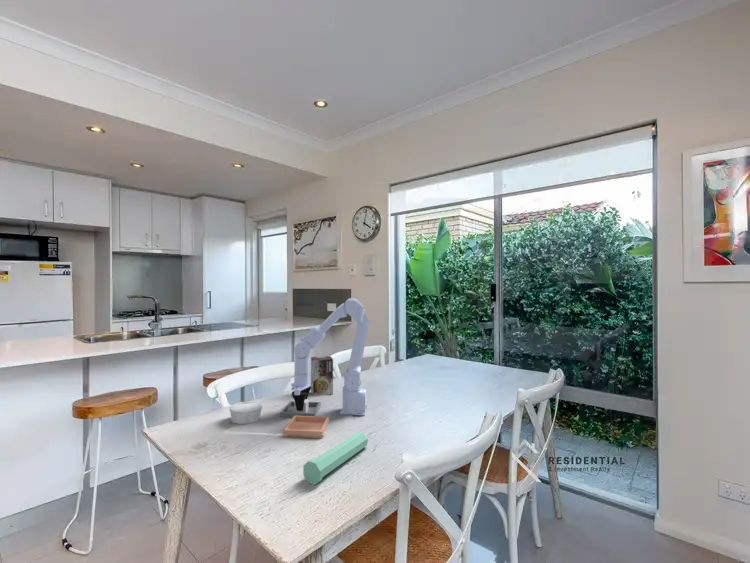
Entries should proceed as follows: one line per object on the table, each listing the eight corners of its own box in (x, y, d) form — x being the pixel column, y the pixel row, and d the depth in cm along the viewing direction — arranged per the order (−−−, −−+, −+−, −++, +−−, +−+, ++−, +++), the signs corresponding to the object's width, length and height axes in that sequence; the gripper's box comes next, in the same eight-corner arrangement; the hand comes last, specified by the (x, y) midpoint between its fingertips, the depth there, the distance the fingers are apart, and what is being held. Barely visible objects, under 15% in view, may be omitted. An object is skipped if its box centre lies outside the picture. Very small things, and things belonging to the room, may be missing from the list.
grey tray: (320, 407, 145) (321, 402, 145) (314, 419, 133) (314, 413, 133) (289, 406, 146) (290, 400, 146) (280, 418, 133) (280, 412, 133)
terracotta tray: (329, 422, 130) (329, 416, 130) (322, 438, 117) (322, 431, 117) (294, 421, 131) (294, 415, 131) (283, 436, 118) (283, 430, 118)
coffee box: (330, 390, 168) (330, 355, 168) (333, 394, 162) (333, 358, 161) (310, 392, 165) (310, 356, 165) (312, 396, 159) (313, 359, 159)
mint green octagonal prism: (359, 424, 114) (307, 456, 93) (374, 435, 112) (323, 471, 90) (353, 440, 115) (299, 475, 94) (367, 451, 113) (316, 490, 91)
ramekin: (253, 412, 139) (253, 398, 139) (267, 420, 131) (268, 406, 131) (224, 420, 131) (224, 405, 131) (237, 429, 123) (237, 414, 123)
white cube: (308, 409, 141) (308, 399, 141) (305, 413, 137) (305, 402, 137) (297, 408, 142) (297, 398, 142) (294, 413, 137) (294, 402, 137)
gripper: (296, 367, 147) (296, 401, 147) (286, 377, 132) (285, 414, 132) (314, 368, 146) (313, 401, 146) (305, 378, 132) (304, 415, 132)
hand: (301, 408), depth 139 cm, fingers closed on white cube, 4 cm apart
